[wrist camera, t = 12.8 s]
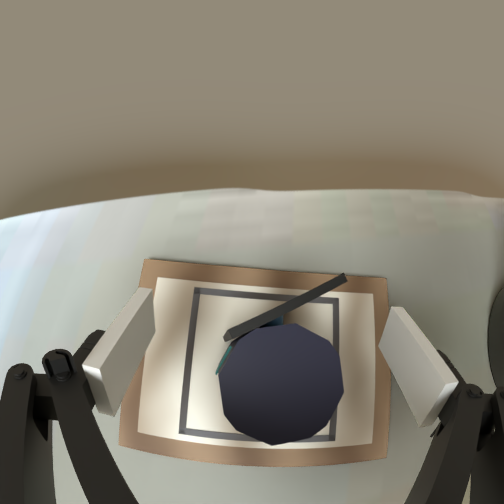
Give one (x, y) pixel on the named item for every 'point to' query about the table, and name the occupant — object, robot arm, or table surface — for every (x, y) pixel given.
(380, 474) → the table surface
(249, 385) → the speaker
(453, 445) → the robot arm
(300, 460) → the picture frame
